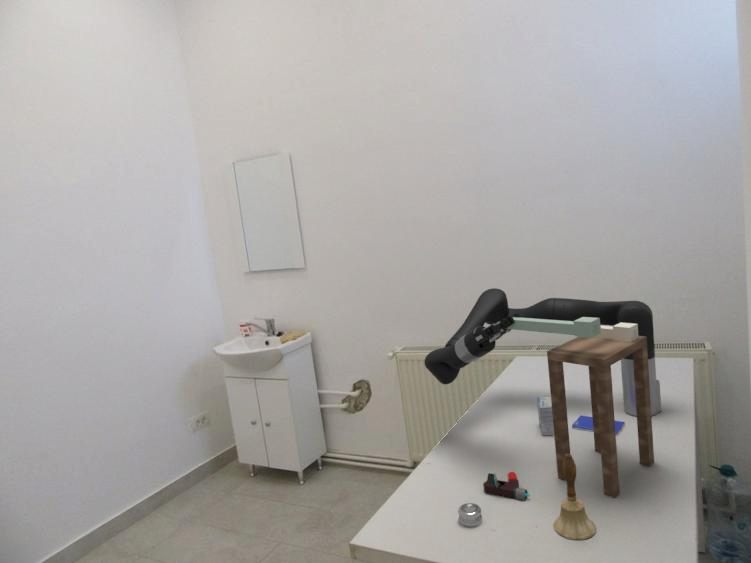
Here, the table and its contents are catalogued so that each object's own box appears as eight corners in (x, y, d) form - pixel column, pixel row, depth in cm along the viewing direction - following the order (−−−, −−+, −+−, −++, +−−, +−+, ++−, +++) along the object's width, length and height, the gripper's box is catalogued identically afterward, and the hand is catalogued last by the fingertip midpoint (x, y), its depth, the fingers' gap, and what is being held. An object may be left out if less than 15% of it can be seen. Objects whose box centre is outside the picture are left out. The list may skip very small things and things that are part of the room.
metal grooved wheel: (484, 525, 114) (479, 512, 119) (483, 513, 113) (477, 500, 118) (461, 529, 114) (457, 515, 119) (460, 516, 113) (455, 503, 118)
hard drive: (571, 425, 153) (617, 432, 146) (580, 414, 160) (624, 421, 152) (572, 430, 154) (617, 438, 146) (581, 419, 160) (625, 426, 152)
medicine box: (558, 435, 150) (555, 406, 149) (541, 436, 151) (539, 407, 150) (554, 423, 158) (552, 396, 157) (538, 424, 159) (536, 397, 158)
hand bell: (545, 521, 112) (539, 451, 110) (580, 512, 114) (574, 442, 112) (568, 544, 104) (562, 469, 102) (605, 533, 106) (599, 459, 104)
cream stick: (540, 332, 141) (539, 319, 141) (548, 328, 144) (547, 316, 143) (630, 342, 123) (629, 327, 122) (638, 338, 125) (637, 323, 125)
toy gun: (529, 504, 120) (527, 484, 119) (479, 494, 126) (477, 476, 126) (541, 483, 128) (539, 464, 127) (493, 475, 134) (491, 457, 134)
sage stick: (502, 329, 134) (500, 315, 133) (512, 325, 136) (510, 312, 136) (591, 337, 115) (590, 322, 114) (601, 333, 117) (599, 317, 117)
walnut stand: (558, 478, 128) (546, 351, 124) (599, 447, 141) (590, 330, 136) (614, 498, 117) (604, 359, 113) (654, 462, 130) (646, 336, 125)
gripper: (497, 350, 148) (540, 323, 135) (464, 364, 140) (506, 337, 127) (484, 326, 150) (525, 298, 137) (450, 339, 142) (490, 310, 129)
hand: (515, 317), depth 132 cm, fingers closed on sage stick, 2 cm apart
